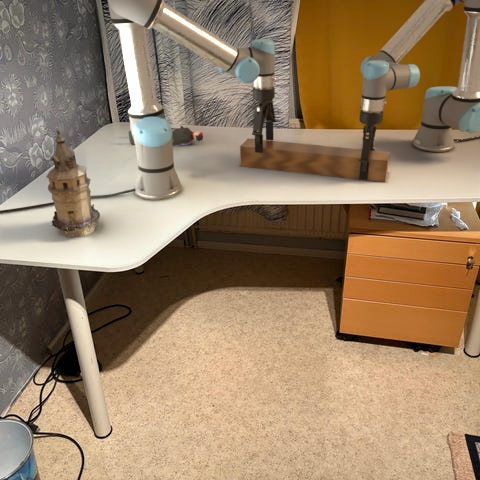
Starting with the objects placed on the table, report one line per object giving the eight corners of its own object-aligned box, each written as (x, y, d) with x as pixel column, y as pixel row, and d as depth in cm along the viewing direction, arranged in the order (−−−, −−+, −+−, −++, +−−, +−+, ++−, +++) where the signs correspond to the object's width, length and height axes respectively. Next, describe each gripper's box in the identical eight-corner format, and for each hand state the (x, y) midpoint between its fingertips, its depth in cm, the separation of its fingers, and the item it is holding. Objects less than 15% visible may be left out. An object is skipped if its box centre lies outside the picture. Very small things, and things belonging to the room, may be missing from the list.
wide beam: (240, 165, 197) (240, 146, 193) (247, 157, 204) (247, 138, 200) (385, 182, 182) (387, 161, 178) (387, 172, 189) (390, 152, 186)
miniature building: (80, 214, 164) (63, 117, 149) (111, 225, 157) (96, 125, 142) (44, 231, 154) (22, 130, 140) (75, 244, 147) (55, 139, 133)
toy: (143, 119, 231) (210, 119, 225) (145, 133, 234) (211, 133, 228) (119, 138, 209) (193, 139, 203) (122, 153, 212) (195, 154, 206)
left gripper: (263, 97, 173) (264, 158, 184) (283, 79, 194) (283, 135, 204) (241, 95, 175) (243, 157, 186) (263, 78, 196) (264, 134, 206)
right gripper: (380, 120, 167) (372, 187, 178) (386, 102, 184) (379, 164, 195) (355, 118, 169) (349, 184, 180) (364, 101, 186) (358, 162, 198)
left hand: (264, 145), depth 195 cm, fingers open, 13 cm apart
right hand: (364, 173), depth 188 cm, fingers closed on wide beam, 9 cm apart
